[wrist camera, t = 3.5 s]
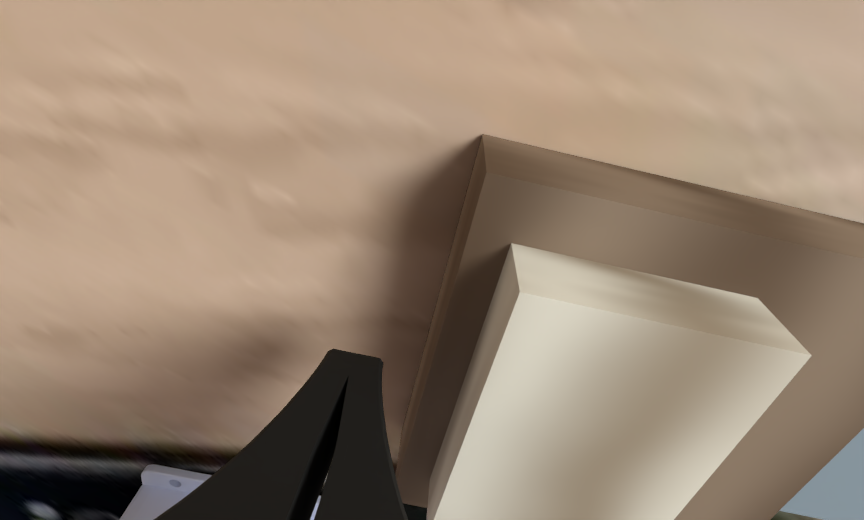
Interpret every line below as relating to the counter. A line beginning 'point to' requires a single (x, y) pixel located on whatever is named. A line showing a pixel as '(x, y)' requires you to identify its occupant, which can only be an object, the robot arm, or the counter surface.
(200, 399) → the counter surface
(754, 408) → the tile
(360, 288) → the counter surface
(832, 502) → the mat
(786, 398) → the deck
